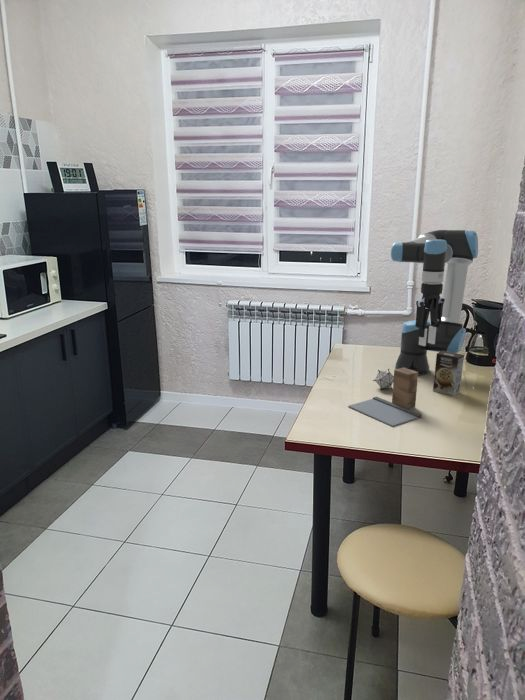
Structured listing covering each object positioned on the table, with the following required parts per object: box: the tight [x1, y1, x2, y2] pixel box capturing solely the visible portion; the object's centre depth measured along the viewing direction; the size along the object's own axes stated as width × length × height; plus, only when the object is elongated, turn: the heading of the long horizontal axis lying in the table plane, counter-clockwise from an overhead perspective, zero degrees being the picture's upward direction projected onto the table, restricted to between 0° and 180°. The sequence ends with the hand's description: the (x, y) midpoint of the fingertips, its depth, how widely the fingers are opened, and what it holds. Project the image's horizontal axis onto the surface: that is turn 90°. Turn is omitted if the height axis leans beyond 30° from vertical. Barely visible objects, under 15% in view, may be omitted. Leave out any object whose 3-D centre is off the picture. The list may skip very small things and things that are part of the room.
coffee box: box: [432, 351, 465, 397], centre depth 208 cm, size 9×6×16 cm
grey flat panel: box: [348, 396, 423, 428], centre depth 189 cm, size 15×22×1 cm
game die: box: [372, 368, 394, 390], centre depth 213 cm, size 9×8×10 cm
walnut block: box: [391, 367, 419, 410], centre depth 193 cm, size 5×7×14 cm
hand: (426, 344), depth 195 cm, fingers open, 4 cm apart
